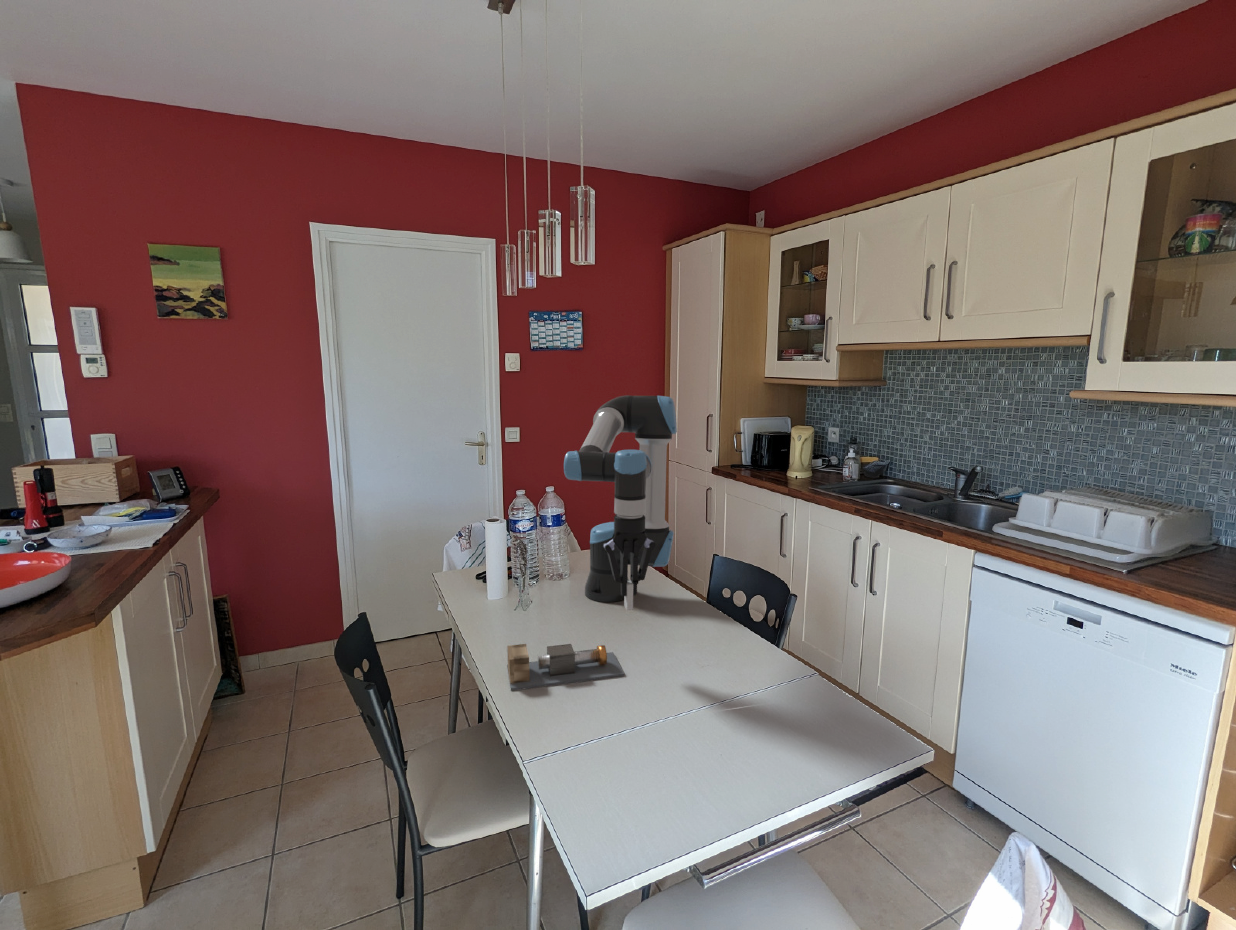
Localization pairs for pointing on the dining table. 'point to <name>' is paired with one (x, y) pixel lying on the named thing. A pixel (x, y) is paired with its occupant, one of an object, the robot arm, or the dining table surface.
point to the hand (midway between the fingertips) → (628, 607)
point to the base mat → (581, 674)
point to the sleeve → (561, 660)
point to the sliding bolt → (579, 657)
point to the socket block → (518, 663)
